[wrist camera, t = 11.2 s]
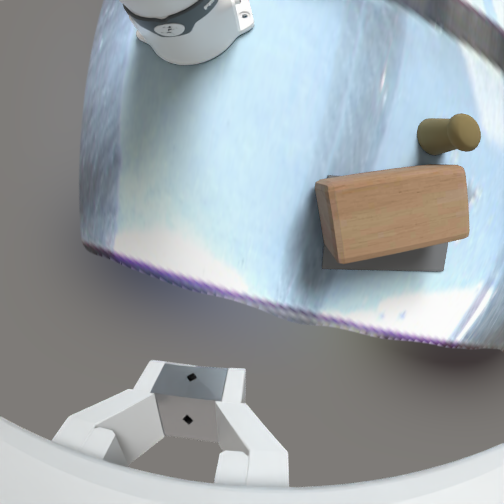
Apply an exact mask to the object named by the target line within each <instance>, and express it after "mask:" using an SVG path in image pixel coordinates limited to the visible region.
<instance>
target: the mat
mask: <svg viewBox="0 0 504 504" xmlns="http://www.w3.org/2000/svg"><path fill="white" fill-rule="evenodd" d="M333 177H339V176H331V175H328V178H333ZM447 246H448V242H446V243H442V244H438V245H433V246H428V247H424V248H419V249H415V250H410V251H405V252H401V253H396V254H391V255H386V256H382V257H377V258H372V259H367V260H362V261H357V262H352V263H347V264H341V263H338V262H337V261H336V259H335V258H334V257H333V255H332V254H331V252H330V251H329V250H328V248H327V247H326V245H325V244H324V249H323V261H322V269H348V270H396V271H443V270H444V264H445V259H446V253H447Z"/></svg>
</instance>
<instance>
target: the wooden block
mask: <svg viewBox="0 0 504 504" xmlns="http://www.w3.org/2000/svg"><path fill="white" fill-rule="evenodd" d="M315 192H316V198H317V204H318V209H319V215H320V222H321V228H322V234H323V241H324V244H325V245H326V247H327V248H328V250H329V251H330V252H331V254H332V255H333V257H334V258H335V259H336V261H337V262H338V263H341V264H347V263H352V262H357V261H362V260H367V259H372V258H377V257H382V256H386V255H391V254H396V253H401V252H405V251H410V250H415V249H419V248H424V247H428V246H433V245H438V244H442V243H446V242H451V241H455V240H460V239H464V238H466V237H468V235H469V210H468V195H467V184H466V175H465V171H464V168H463V167H461V166H459V165H440V164H428V165H419V166H411V167H403V168H395V169H387V170H380V171H373V172H366V173H359V174H352V175H346V176H339V177H333V178H327V179H321V180H319V181H317V182H316V184H315Z"/></svg>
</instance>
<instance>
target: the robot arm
mask: <svg viewBox="0 0 504 504" xmlns="http://www.w3.org/2000/svg"><path fill="white" fill-rule="evenodd" d="M119 1H120V2H122V3H123V6H124V9H125V10H126V12H127V14H128V15H129V18H130V20H131V22H132V23H133V24H134V26H135V27H136V28H137V32H136V36H137V37H138V38H139V40H141V41H143V42H145V43H147V44H149V45H150V46H151V47H152V48H153V50H154V51H155V53H156V54H157V55H158V56H159V57H161V58H162V59H163V60H165V61H167V62H170V63H173V64H178V65H193V64H198V63H202V62H205V61H208V60H210V59H212V58H214V57H216V56H218V55H219V54H221V53H222V52H223V51H225V50H226V49H227V48H228V47H229V46H230V45H231V44H232V42H233V41H234V40H235V39H236V38H237V37H238V36H239V35H241V34H243V33H245V32H247V31H249V30H250V29H251V28H253V26H254V18H253V14H252V10H251V6H250V2H249V0H119ZM243 16H247V18H242V17H243ZM245 394H246V370H245V369H243V368H229V369H228V368H214V367H202V366H194V365H187V364H178V363H172V362H164V361H157V360H151V361H150V362H149V363H148V365H147V366H146V368H145V370H144V371H143V373H142V375H141V376H140V378H139V380H138V382H137V383H136V385H135V387H134V389H133V390H132V389H127V390H125V391H123V392H121V393H119V394H117V395H115V396H113V397H110V398H108V399H106V400H104V401H102V402H100V403H98V404H95V405H93V406H91V407H89V408H86V409H84V410H82V411H80V412H77V413H76V414H73V415H71V416H69V417H68V418H67V420H66V421H65V423H64V424H63V426H62V427H61V428H60V429H59V431H58V433H57V434H56V435H55V437H54V438H53V439H52V441H50V440H48V439H45V438H43V437H41V436H39V435H36V434H34V433H32V432H30V431H28V430H26V429H24V428H22V427H20V426H18V425H16V424H14V423H12V422H10V421H9V420H7V419H5V418H3V417H1V416H0V504H504V443H502V444H500V445H497V446H495V447H492V448H490V449H488V450H485V451H482V452H480V453H477V454H474V455H471V456H469V457H466V458H463V459H460V460H457V461H453V462H450V463H447V464H444V465H440V466H437V467H433V468H430V469H425V470H422V471H417V472H413V473H409V474H405V475H400V476H395V477H389V478H384V479H378V480H372V481H365V482H358V483H349V484H340V485H328V486H313V487H289V468H288V452H287V451H286V450H285V449H284V447H283V446H282V445H281V444H280V443H279V442H278V441H277V440H276V438H275V437H274V436H273V435H272V434H271V433H270V431H269V430H268V429H267V428H266V427H265V426H264V424H263V423H262V422H261V421H260V420H259V419H258V417H257V416H256V415H255V414H254V413H253V411H252V410H251V409H250V408H249V407H248V405H247V404H245ZM164 435H165V436H171V437H179V438H187V439H194V440H202V441H208V442H215V443H219V446H220V447H221V449H222V451H223V452H222V453H220V456H219V461H218V465H217V470H216V475H215V480H214V483H205V482H198V481H191V480H185V479H179V478H173V477H168V476H163V475H158V474H153V473H149V472H145V471H140V470H136V469H133V468H129V466H128V465H129V464H130V463H131V462H133V461H134V460H135V459H137V458H138V457H139V456H141V455H142V454H143V453H145V452H146V451H147V450H148V449H150V448H151V447H152V446H153V445H155V444H156V443H157V442H159V441H160V440H161V439H162V438H164Z"/></svg>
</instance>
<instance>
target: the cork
mask: <svg viewBox="0 0 504 504" xmlns="http://www.w3.org/2000/svg"><path fill="white" fill-rule="evenodd" d="M417 138H418V141H419V144H420V146H421V147H422V149H423V150H424V151H425V152H426V153H428V154H430V155H439V154H442V153H445V152H448V151H451V150H455V149H459V150H461V151H472V150H474V149H475V148H476V147H477V146H478V144H479V142H480V138H481V132H480V128H479V126H478V124H477V122H476V121H475V120H474V119H473V118H472V117H471V116H469V115H466V114H462V113H461V114H457V115H454V116H453V117H452V118H451V119H425V120H423V121H422V122H421V123H420V125H419V126H418V130H417Z"/></svg>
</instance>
